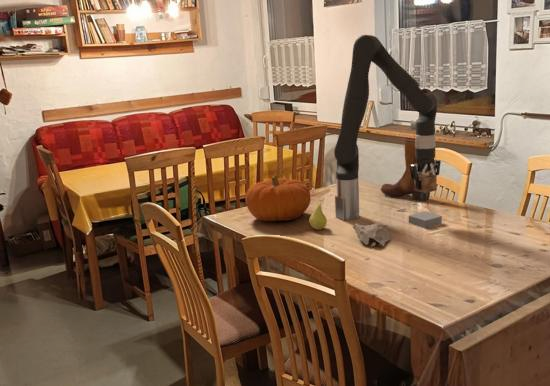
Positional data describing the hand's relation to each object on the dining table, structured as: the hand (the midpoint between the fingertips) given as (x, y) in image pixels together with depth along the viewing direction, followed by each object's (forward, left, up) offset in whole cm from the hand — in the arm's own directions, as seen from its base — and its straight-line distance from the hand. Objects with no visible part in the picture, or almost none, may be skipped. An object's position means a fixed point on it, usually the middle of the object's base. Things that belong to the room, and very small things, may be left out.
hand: (425, 187), depth 218 cm
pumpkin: (-43, +44, -15) cm, 63 cm away
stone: (-28, -2, -15) cm, 32 cm away
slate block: (0, 0, -15) cm, 15 cm away
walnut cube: (0, 0, -1) cm, 1 cm away
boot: (+19, +34, -15) cm, 42 cm away
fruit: (-37, +21, -15) cm, 45 cm away
